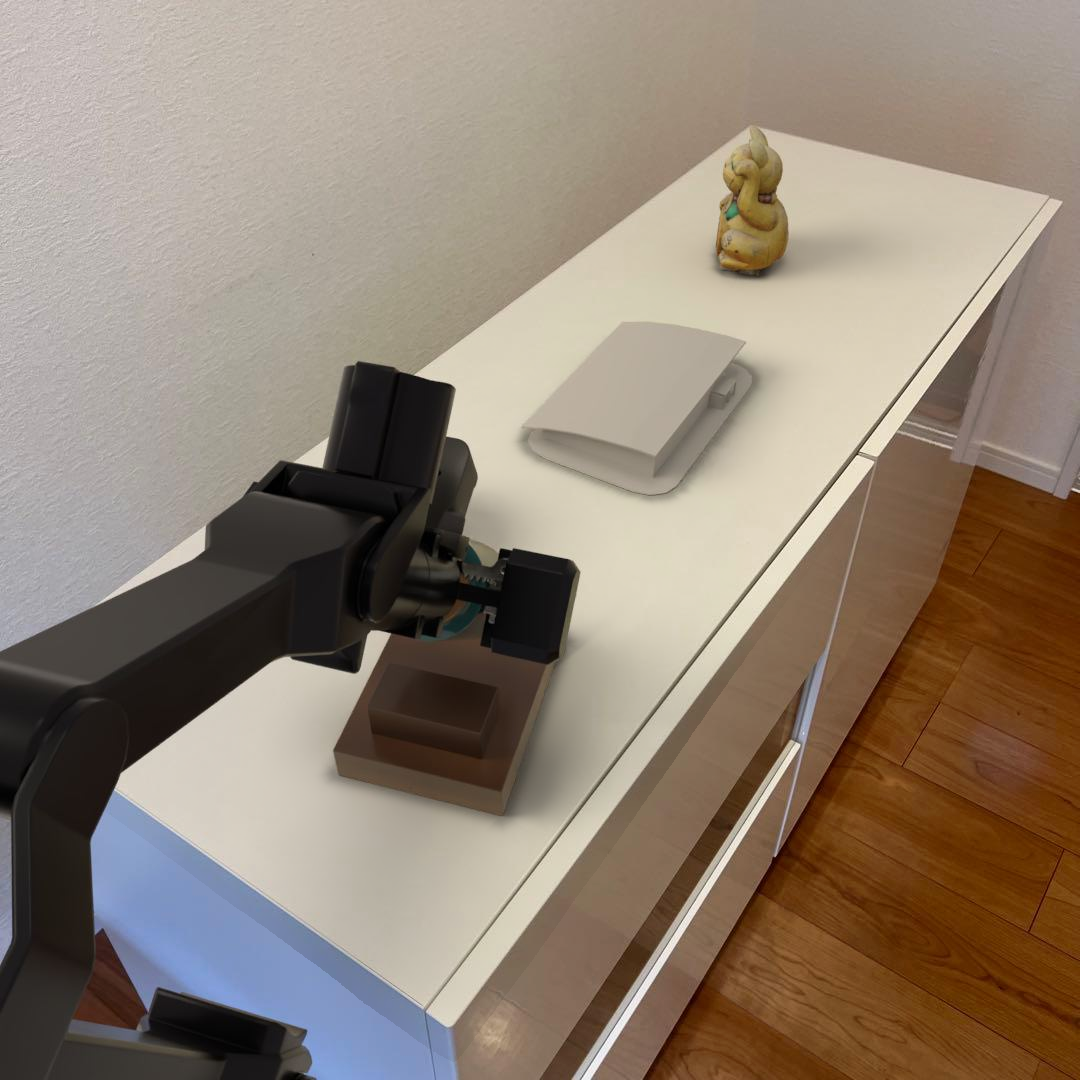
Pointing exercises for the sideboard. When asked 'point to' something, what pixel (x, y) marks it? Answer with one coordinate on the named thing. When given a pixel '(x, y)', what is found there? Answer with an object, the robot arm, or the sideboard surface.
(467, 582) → the jar
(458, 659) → the stand
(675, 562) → the sideboard surface
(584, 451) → the grey flat folded piece
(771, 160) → the decorative figurine
